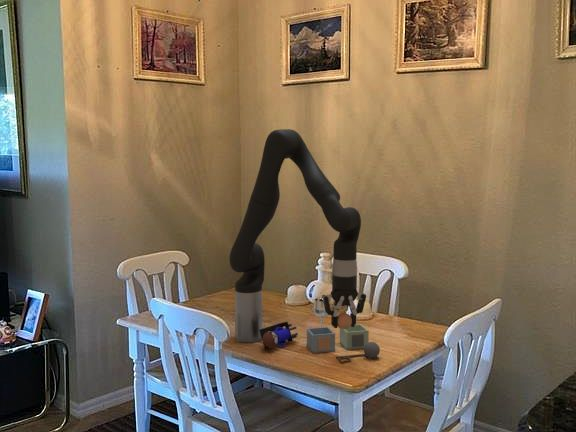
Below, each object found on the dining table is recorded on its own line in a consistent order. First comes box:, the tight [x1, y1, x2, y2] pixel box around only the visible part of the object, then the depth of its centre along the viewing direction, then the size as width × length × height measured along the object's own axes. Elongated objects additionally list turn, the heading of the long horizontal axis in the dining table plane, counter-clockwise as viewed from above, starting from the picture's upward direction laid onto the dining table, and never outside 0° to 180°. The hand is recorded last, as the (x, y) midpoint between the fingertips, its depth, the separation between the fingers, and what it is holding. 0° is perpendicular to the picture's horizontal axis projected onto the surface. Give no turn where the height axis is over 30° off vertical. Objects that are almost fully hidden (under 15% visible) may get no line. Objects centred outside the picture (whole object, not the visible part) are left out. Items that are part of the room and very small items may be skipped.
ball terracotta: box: [337, 312, 352, 329], centre depth 186 cm, size 5×5×5 cm
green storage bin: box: [339, 323, 370, 351], centre depth 201 cm, size 8×8×6 cm
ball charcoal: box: [363, 341, 381, 358], centre depth 189 cm, size 5×5×5 cm
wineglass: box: [312, 297, 329, 327], centre depth 215 cm, size 6×6×12 cm
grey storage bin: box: [306, 326, 336, 354], centre depth 198 cm, size 8×8×6 cm
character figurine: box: [260, 321, 299, 351], centre depth 202 cm, size 8×7×15 cm
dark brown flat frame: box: [335, 353, 380, 364], centre depth 189 cm, size 13×4×1 cm, turn 103°
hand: (343, 326), depth 187 cm, fingers closed on ball terracotta, 5 cm apart
